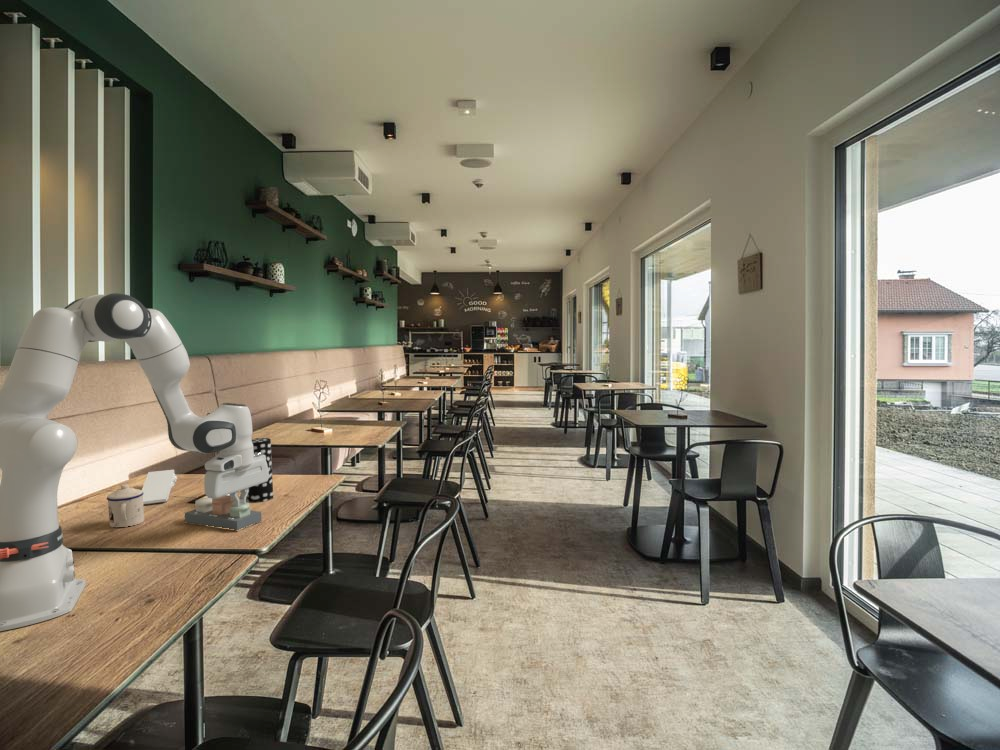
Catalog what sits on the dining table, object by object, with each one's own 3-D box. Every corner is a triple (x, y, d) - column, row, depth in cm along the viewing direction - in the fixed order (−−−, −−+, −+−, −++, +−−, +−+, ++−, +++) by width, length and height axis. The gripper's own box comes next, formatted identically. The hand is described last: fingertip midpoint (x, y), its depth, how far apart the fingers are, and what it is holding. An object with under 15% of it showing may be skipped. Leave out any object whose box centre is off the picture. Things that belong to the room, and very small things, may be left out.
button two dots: (254, 519, 167) (253, 503, 167) (240, 525, 162) (239, 508, 162) (241, 517, 169) (240, 501, 169) (226, 523, 164) (225, 506, 164)
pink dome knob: (236, 512, 170) (235, 496, 169) (221, 517, 165) (221, 501, 165) (223, 510, 172) (222, 494, 171) (209, 515, 167) (208, 499, 167)
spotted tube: (277, 498, 192) (274, 440, 191) (253, 504, 186) (250, 443, 185) (266, 493, 198) (263, 437, 196) (242, 499, 192) (239, 440, 190)
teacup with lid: (111, 521, 171) (108, 483, 170) (146, 516, 175) (144, 479, 174) (104, 534, 160) (101, 493, 159) (142, 528, 164) (140, 489, 163)
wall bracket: (167, 519, 189) (175, 488, 214) (171, 499, 189) (179, 470, 214) (132, 517, 185) (144, 485, 210) (136, 496, 184) (148, 466, 209)
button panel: (261, 521, 169) (261, 511, 168) (237, 531, 161) (236, 520, 160) (210, 513, 177) (209, 503, 177) (185, 522, 169) (184, 512, 168)
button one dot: (219, 514, 173) (218, 498, 172) (204, 519, 168) (203, 503, 168) (207, 512, 175) (206, 496, 174) (192, 517, 170) (191, 501, 170)
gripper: (257, 450, 175) (259, 493, 176) (199, 465, 156) (202, 514, 158) (272, 451, 173) (275, 495, 174) (215, 467, 154) (218, 516, 155)
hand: (239, 504), depth 166 cm, fingers closed, pressing on button two dots
